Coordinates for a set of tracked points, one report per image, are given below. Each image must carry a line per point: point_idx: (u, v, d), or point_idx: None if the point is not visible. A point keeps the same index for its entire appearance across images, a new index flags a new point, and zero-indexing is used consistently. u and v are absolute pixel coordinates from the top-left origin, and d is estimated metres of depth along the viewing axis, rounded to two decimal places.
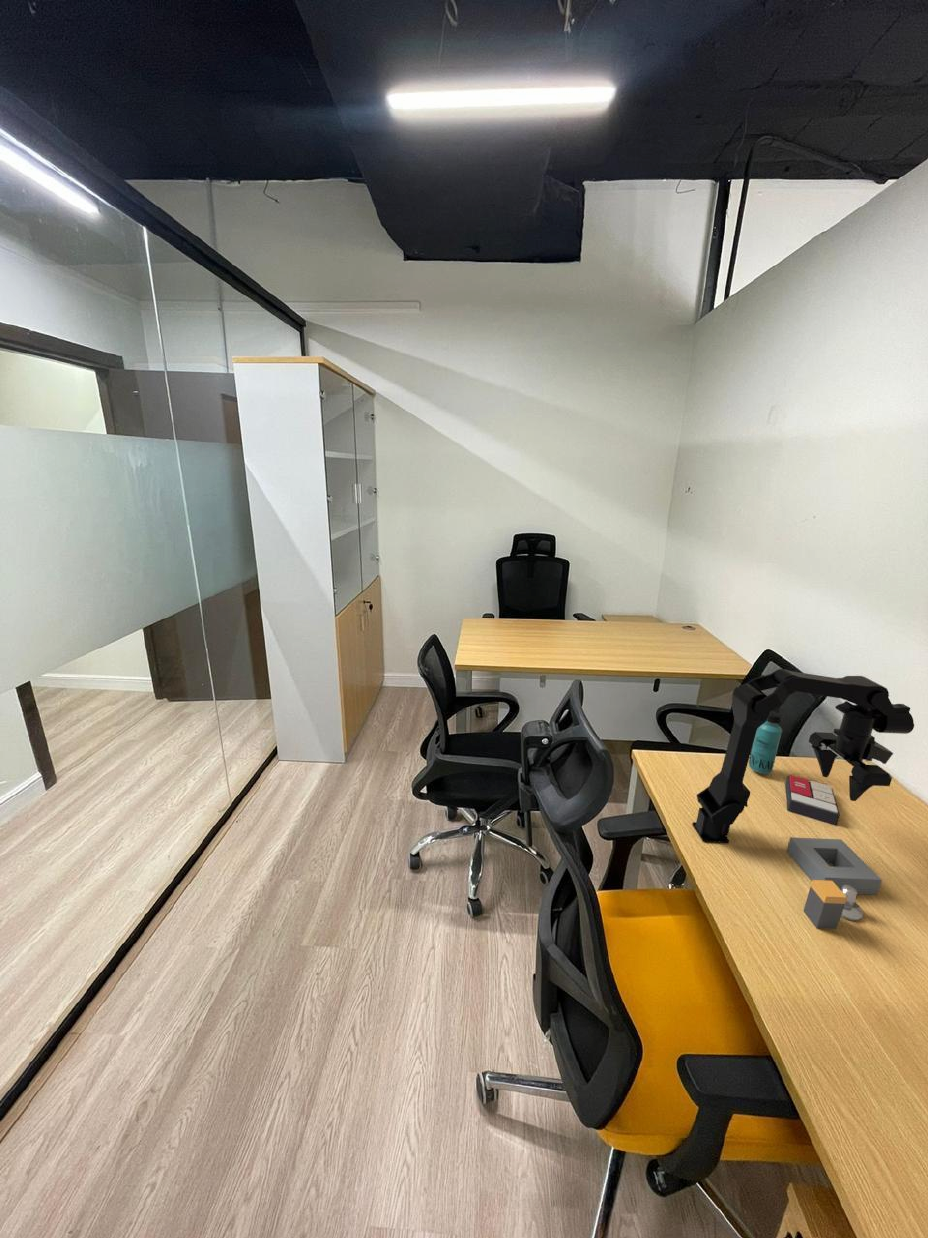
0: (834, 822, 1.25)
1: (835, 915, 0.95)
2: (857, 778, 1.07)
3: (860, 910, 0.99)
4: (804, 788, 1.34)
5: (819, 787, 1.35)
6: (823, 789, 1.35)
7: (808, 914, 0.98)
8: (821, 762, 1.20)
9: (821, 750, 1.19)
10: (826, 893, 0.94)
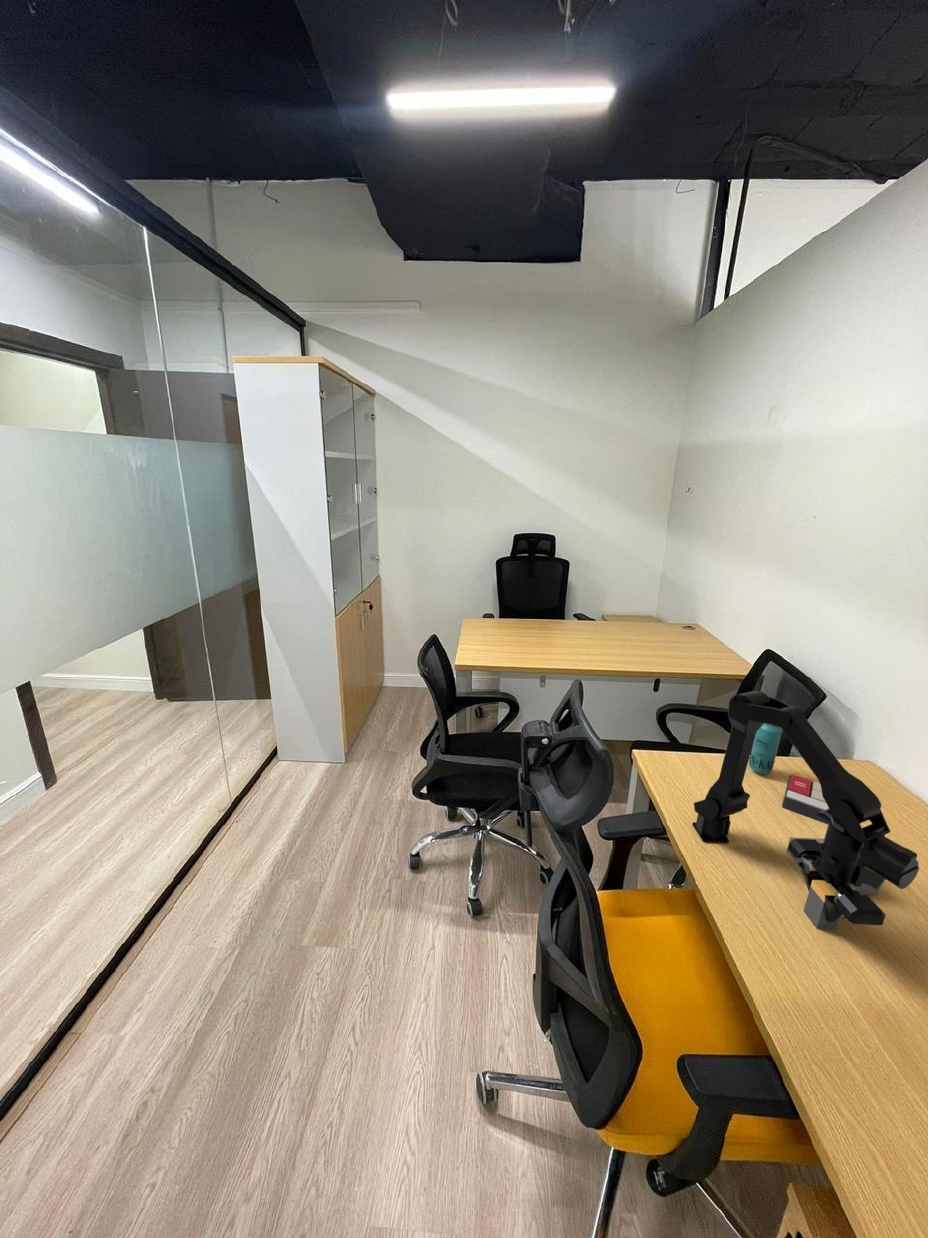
0: None
1: None
2: (843, 913, 0.88)
3: None
4: (803, 787, 1.35)
5: (820, 788, 1.35)
6: None
7: (808, 914, 0.98)
8: None
9: (810, 872, 0.98)
10: (826, 893, 0.94)
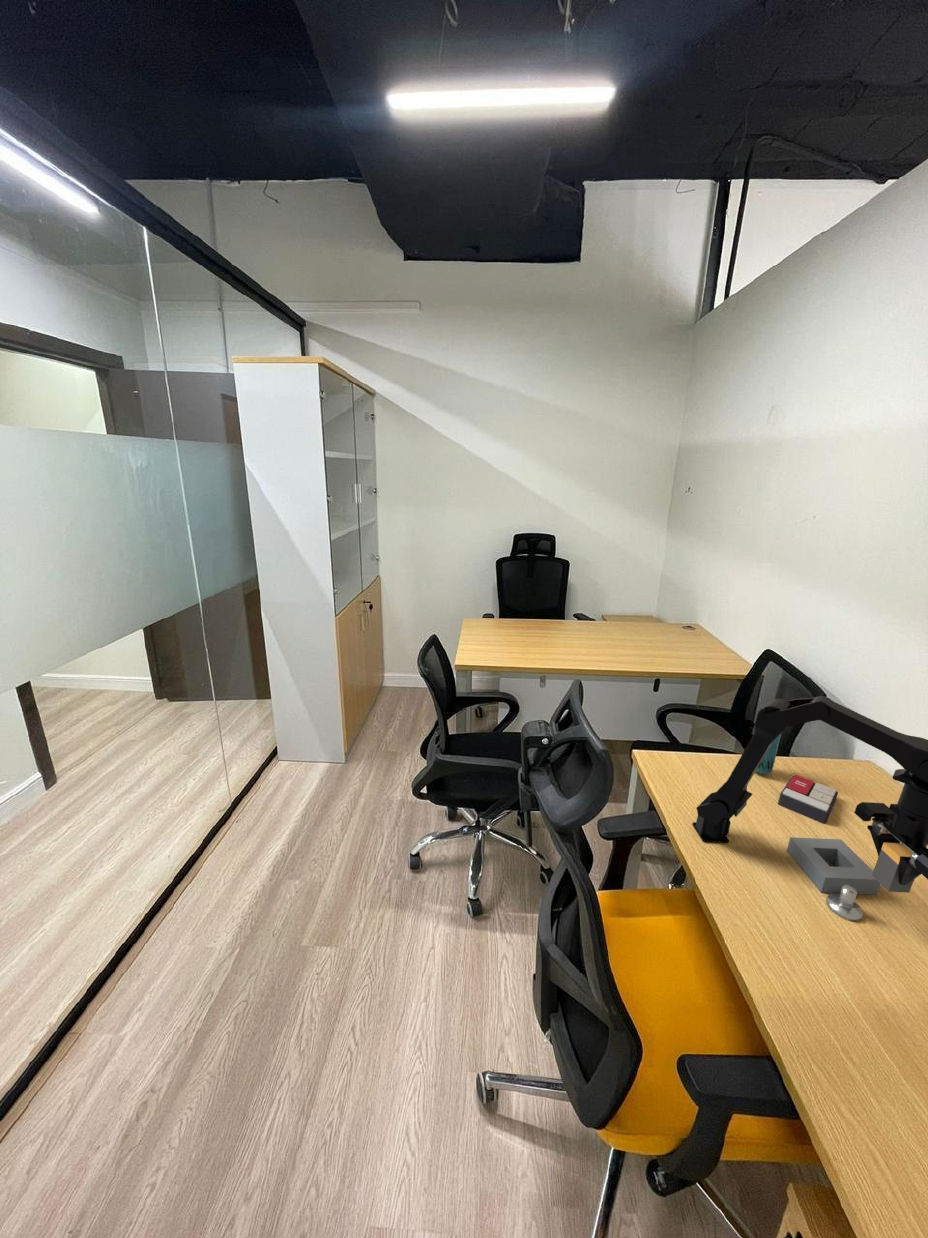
0: (822, 820, 1.26)
1: None
2: (923, 873, 0.85)
3: (860, 910, 0.99)
4: (803, 787, 1.35)
5: (821, 788, 1.35)
6: (825, 791, 1.34)
7: (878, 878, 0.95)
8: (880, 849, 0.96)
9: (880, 834, 0.95)
10: (900, 855, 0.92)
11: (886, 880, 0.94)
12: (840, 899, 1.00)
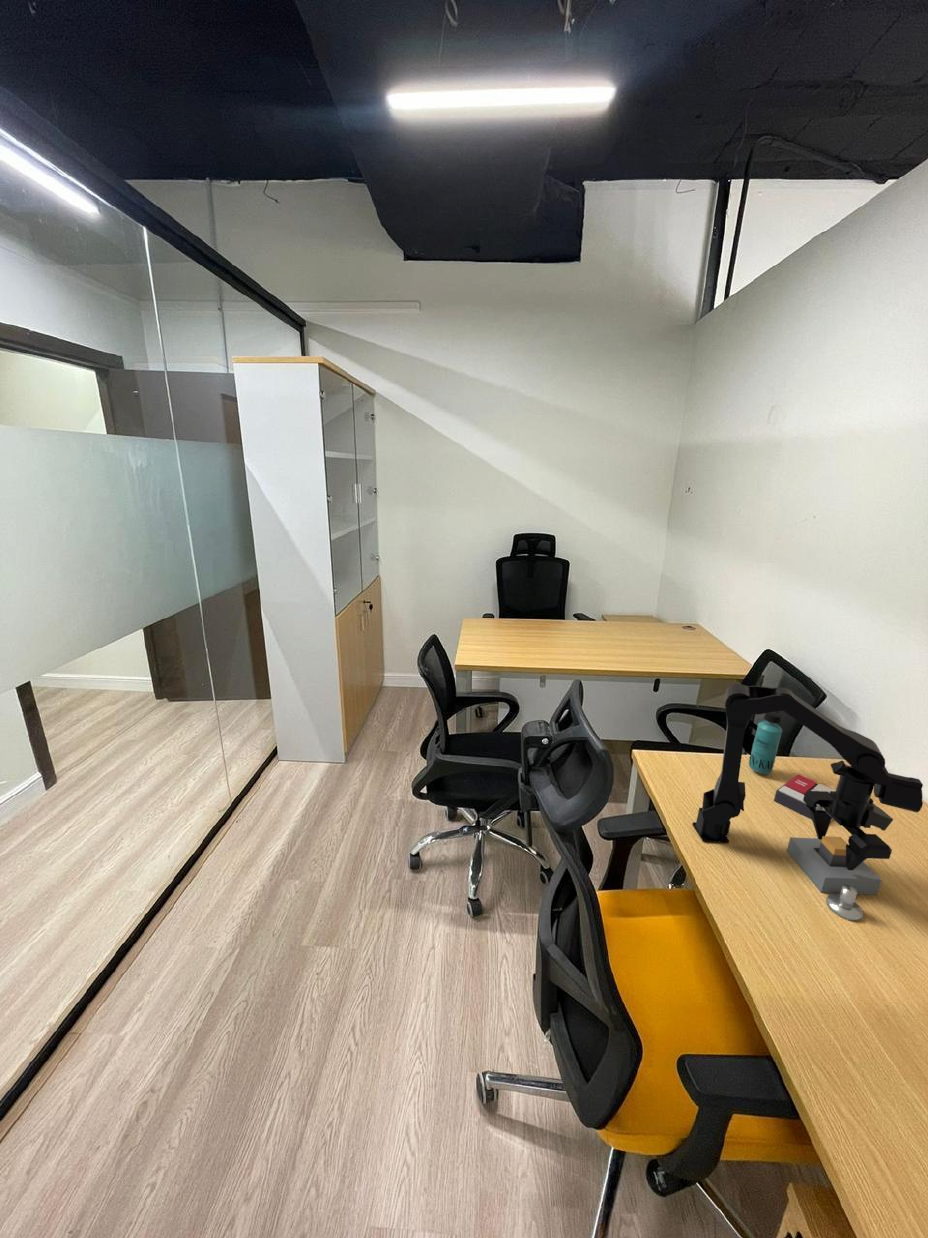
0: None
1: (842, 866, 1.07)
2: (854, 849, 0.99)
3: (860, 910, 0.99)
4: (803, 786, 1.35)
5: (822, 789, 1.34)
6: None
7: None
8: (816, 824, 1.12)
9: (816, 811, 1.12)
10: (835, 846, 1.07)
11: None
12: (840, 899, 1.00)
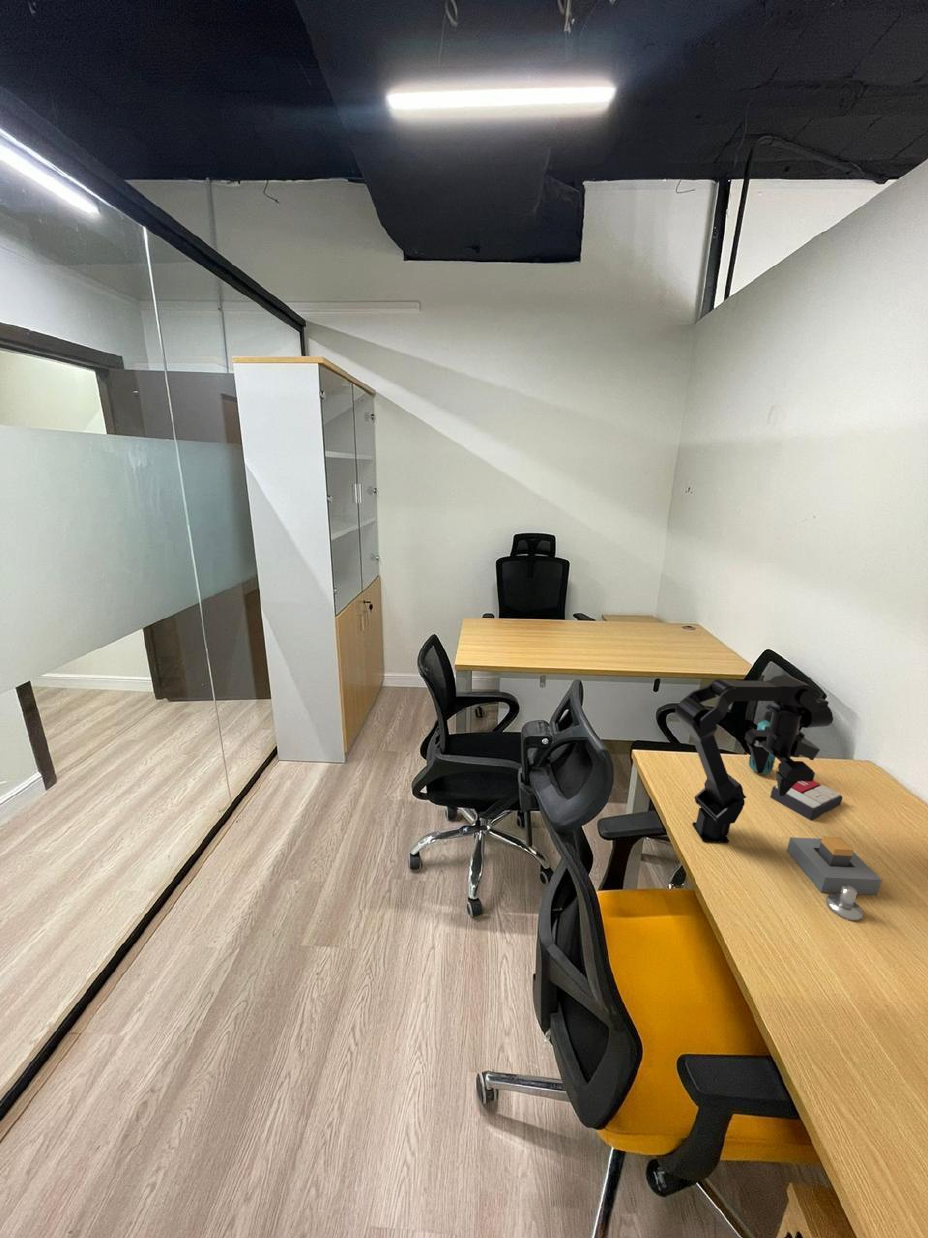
0: (809, 816, 1.27)
1: (842, 866, 1.07)
2: (782, 774, 1.11)
3: (860, 910, 0.99)
4: (802, 785, 1.36)
5: (823, 790, 1.34)
6: (826, 792, 1.33)
7: None
8: (755, 759, 1.23)
9: (755, 747, 1.23)
10: (835, 846, 1.07)
11: None
12: (840, 899, 1.00)
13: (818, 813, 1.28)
